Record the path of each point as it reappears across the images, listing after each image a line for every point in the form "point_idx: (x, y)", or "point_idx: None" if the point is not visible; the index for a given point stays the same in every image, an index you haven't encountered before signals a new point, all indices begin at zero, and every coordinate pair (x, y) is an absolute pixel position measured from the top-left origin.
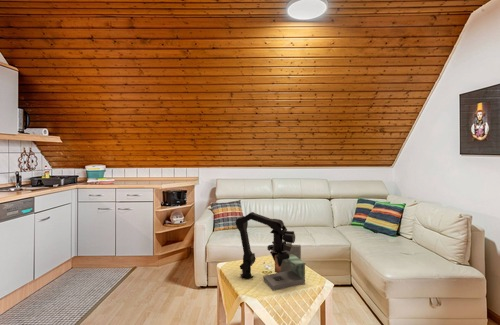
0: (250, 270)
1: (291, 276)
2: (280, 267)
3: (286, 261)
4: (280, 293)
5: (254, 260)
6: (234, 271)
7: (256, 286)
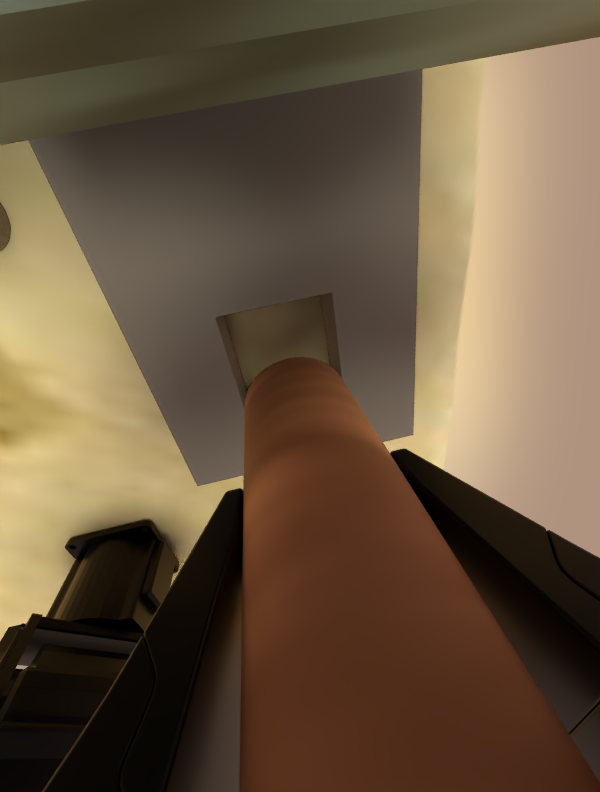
0: (119, 590)
1: (257, 127)
2: (370, 424)
3: (10, 128)
4: (453, 365)
5: (36, 703)
6: (38, 611)
7: None
